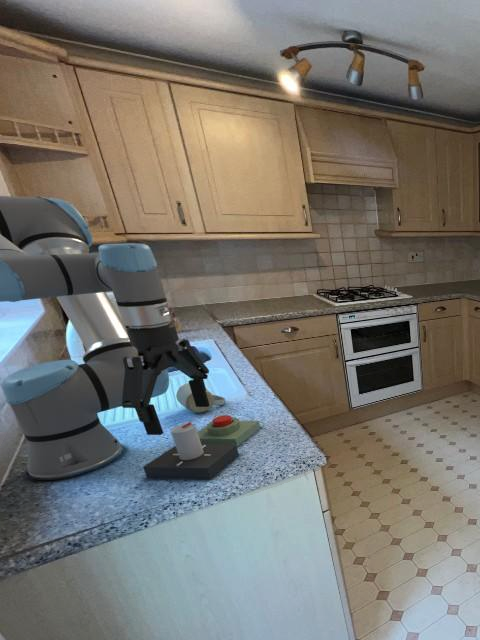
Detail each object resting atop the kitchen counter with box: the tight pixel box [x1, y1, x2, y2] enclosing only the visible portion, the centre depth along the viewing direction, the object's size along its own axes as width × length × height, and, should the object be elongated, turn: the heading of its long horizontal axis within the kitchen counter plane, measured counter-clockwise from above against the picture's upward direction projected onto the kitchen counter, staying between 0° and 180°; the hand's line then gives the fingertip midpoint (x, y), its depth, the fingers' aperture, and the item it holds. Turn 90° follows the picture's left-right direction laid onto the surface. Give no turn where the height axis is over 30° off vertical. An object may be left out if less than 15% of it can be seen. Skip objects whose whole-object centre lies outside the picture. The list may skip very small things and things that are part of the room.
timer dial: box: [170, 422, 204, 460], centre depth 91 cm, size 4×4×7 cm
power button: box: [212, 414, 232, 427], centre depth 105 cm, size 4×4×2 cm
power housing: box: [197, 416, 261, 447], centre depth 106 cm, size 12×10×4 cm
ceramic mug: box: [176, 382, 226, 414], centre depth 121 cm, size 11×8×8 cm
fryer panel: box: [142, 444, 240, 480], centre depth 93 cm, size 14×10×3 cm
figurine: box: [169, 307, 183, 334], centre depth 200 cm, size 7×7×12 cm
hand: (181, 419), depth 89 cm, fingers open, 13 cm apart
